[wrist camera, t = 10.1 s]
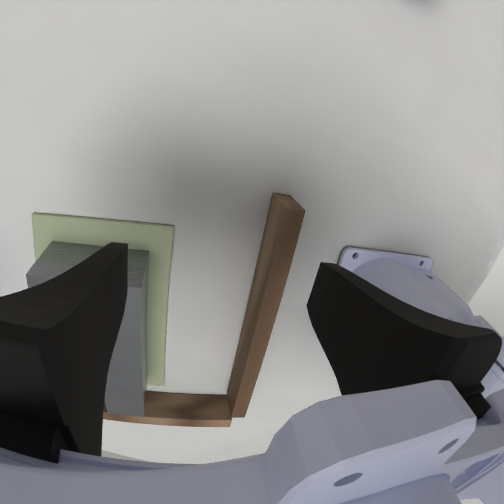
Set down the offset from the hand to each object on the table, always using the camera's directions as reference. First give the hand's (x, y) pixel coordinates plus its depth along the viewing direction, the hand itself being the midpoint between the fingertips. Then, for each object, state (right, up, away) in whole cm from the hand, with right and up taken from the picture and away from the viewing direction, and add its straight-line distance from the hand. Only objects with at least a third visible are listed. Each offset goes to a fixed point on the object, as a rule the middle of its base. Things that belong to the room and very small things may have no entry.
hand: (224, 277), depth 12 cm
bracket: (-10, -4, +10) cm, 15 cm away
